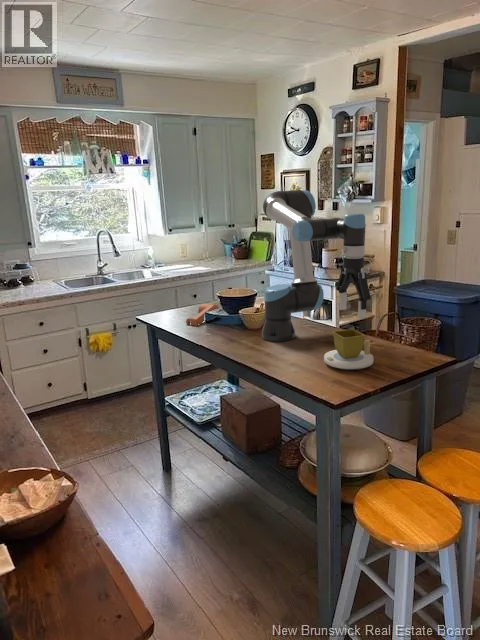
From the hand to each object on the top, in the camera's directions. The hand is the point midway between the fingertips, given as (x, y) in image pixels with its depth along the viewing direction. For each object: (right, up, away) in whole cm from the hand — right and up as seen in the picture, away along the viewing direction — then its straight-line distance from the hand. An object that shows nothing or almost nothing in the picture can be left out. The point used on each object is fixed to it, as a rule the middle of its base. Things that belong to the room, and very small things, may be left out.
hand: (352, 313), depth 179 cm
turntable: (-2, -18, -1) cm, 18 cm away
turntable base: (-2, -19, 0) cm, 19 cm away
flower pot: (-2, -16, -1) cm, 16 cm away
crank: (-62, -3, +71) cm, 94 cm away
